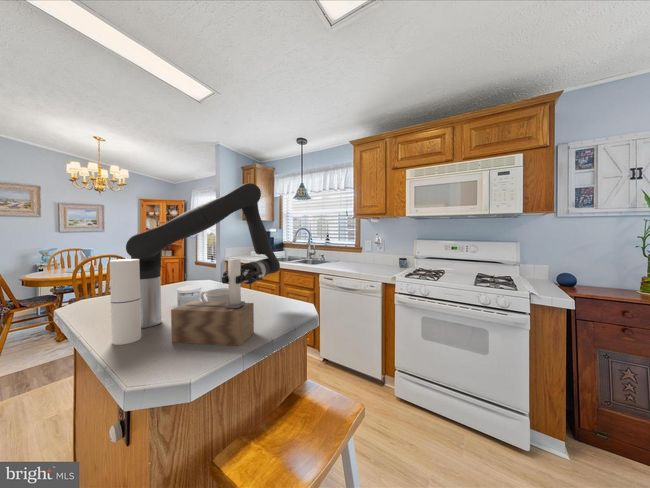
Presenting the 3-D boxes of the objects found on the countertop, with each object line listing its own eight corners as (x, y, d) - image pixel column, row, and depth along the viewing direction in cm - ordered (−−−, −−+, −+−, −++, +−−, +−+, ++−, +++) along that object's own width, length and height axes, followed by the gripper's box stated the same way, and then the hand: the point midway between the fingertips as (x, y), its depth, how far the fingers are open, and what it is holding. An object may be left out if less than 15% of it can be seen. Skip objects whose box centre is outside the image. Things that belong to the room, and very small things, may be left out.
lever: (224, 307, 76) (223, 259, 76) (232, 303, 81) (231, 258, 81) (237, 308, 76) (237, 260, 75) (244, 303, 81) (244, 258, 80)
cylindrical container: (117, 346, 73) (115, 261, 72) (108, 341, 76) (105, 260, 75) (145, 338, 79) (143, 259, 78) (135, 333, 82) (133, 258, 82)
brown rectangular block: (171, 342, 76) (171, 309, 76) (192, 329, 86) (191, 300, 86) (240, 345, 74) (240, 311, 73) (253, 332, 84) (253, 302, 83)
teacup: (210, 310, 108) (209, 287, 107) (242, 311, 106) (242, 288, 105) (191, 319, 96) (191, 294, 95) (227, 321, 94) (227, 295, 93)
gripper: (234, 261, 93) (207, 267, 76) (271, 262, 92) (252, 268, 75) (234, 281, 93) (208, 291, 76) (271, 282, 92) (252, 293, 75)
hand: (230, 280), depth 76 cm, fingers closed on lever, 3 cm apart
